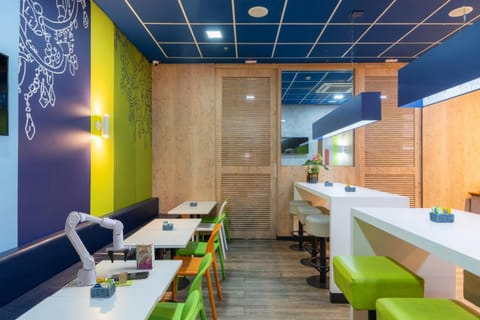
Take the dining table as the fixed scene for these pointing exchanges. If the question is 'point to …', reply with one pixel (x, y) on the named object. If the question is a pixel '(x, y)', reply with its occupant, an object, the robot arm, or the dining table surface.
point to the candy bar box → (145, 256)
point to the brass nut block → (123, 278)
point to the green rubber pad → (124, 284)
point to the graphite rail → (132, 276)
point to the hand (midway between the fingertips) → (119, 262)
